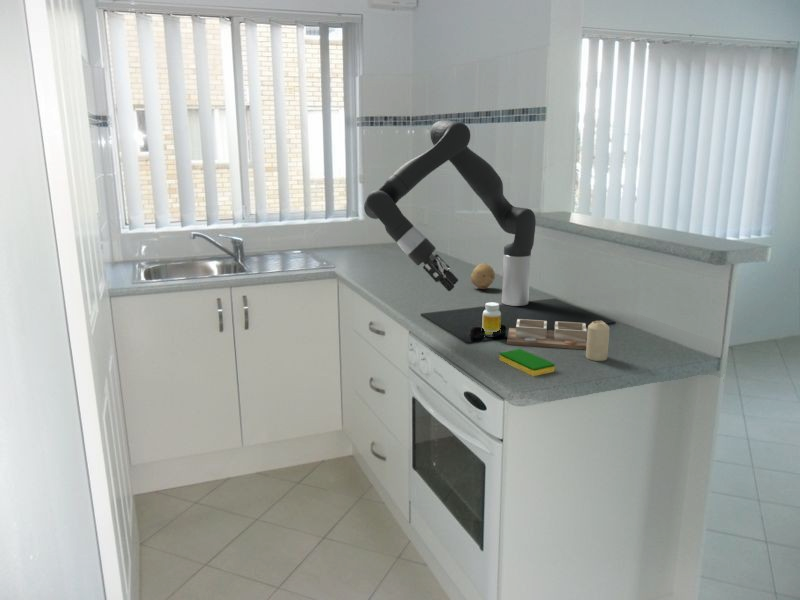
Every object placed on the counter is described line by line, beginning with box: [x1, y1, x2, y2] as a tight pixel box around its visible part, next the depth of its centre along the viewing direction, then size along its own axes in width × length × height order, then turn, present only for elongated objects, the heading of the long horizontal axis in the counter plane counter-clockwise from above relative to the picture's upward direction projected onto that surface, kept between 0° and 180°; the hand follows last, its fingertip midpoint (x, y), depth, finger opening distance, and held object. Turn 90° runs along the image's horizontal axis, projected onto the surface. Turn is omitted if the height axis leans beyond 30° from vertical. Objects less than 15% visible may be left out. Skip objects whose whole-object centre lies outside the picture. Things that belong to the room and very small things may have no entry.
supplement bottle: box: [481, 301, 502, 335], centre depth 195 cm, size 5×5×10 cm
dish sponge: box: [499, 348, 556, 377], centre depth 171 cm, size 7×14×2 cm, turn 29°
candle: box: [585, 320, 611, 362], centre depth 176 cm, size 6×6×10 cm
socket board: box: [506, 318, 588, 351], centre depth 191 cm, size 13×24×4 cm, turn 78°
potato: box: [469, 263, 496, 290], centre depth 251 cm, size 9×9×10 cm
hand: (454, 285), depth 195 cm, fingers open, 8 cm apart
